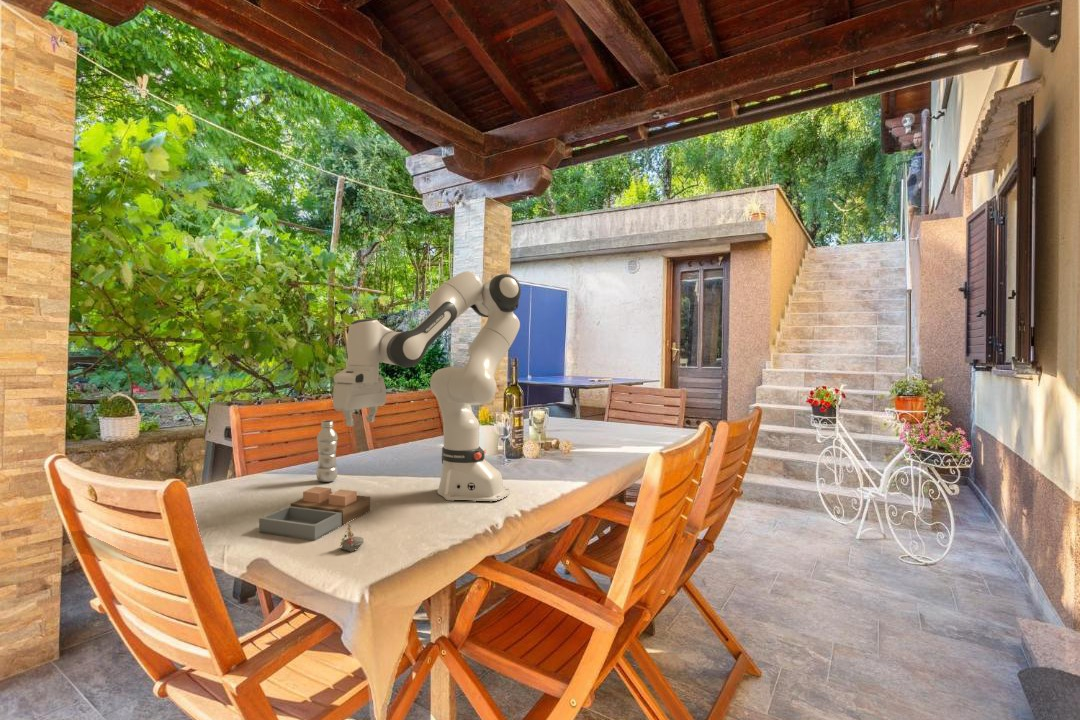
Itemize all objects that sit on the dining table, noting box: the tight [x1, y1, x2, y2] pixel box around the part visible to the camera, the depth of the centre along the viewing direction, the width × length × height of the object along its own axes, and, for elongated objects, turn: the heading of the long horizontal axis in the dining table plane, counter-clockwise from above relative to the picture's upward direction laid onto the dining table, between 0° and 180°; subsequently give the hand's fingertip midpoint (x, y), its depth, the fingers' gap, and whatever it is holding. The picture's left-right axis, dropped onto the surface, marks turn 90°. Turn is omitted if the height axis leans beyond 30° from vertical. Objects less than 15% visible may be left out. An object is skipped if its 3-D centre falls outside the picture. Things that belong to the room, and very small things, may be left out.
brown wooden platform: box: [289, 491, 371, 526], centre depth 143 cm, size 16×12×4 cm
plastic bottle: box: [315, 419, 339, 483], centre depth 175 cm, size 6×7×20 cm
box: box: [258, 505, 343, 541], centre depth 132 cm, size 16×10×4 cm, turn 74°
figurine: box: [339, 523, 365, 553], centre depth 121 cm, size 5×4×6 cm
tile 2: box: [329, 489, 358, 506], centre depth 142 cm, size 5×5×2 cm
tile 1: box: [302, 486, 332, 503], centre depth 144 cm, size 5×5×2 cm
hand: (360, 423), depth 151 cm, fingers open, 8 cm apart
